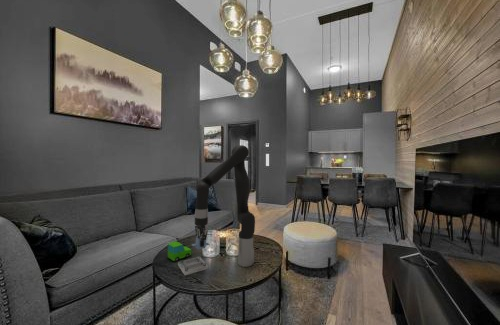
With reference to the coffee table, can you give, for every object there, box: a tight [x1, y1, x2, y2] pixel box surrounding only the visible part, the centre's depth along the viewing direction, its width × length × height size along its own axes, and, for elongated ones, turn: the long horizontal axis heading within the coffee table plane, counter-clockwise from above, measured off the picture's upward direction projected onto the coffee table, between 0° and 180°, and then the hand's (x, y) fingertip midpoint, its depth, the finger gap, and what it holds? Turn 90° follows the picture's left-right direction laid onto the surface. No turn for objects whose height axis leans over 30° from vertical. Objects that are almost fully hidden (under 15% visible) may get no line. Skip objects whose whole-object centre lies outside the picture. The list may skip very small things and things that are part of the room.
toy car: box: [167, 241, 192, 263], centre depth 143 cm, size 10×13×10 cm
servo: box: [191, 236, 210, 250], centre depth 126 cm, size 10×4×6 cm, turn 125°
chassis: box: [177, 255, 209, 276], centre depth 131 cm, size 14×14×3 cm
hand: (200, 245), depth 126 cm, fingers closed on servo, 3 cm apart
